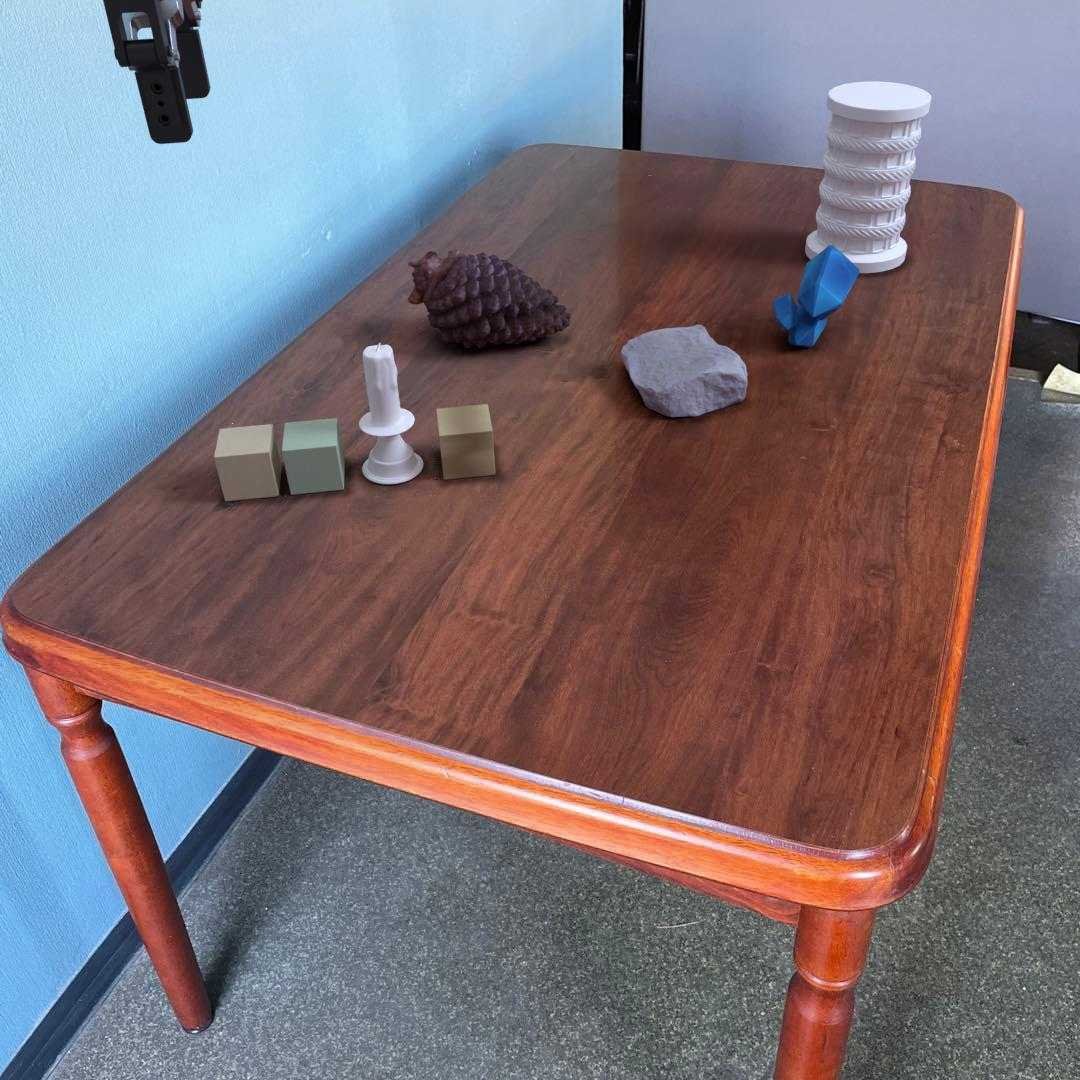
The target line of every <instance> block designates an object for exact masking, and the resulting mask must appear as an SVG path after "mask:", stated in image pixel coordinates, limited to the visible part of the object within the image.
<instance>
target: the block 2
mask: <svg viewBox="0 0 1080 1080" xmlns="http://www.w3.org/2000/svg"><path fill="white" fill-rule="evenodd" d="M283 426H284V427H283V435H282V445H281V455H282V460H283V464H284V465H283V466H284V467H285V468H284V469H285V475H286V478H287V483H288V488H289V492H290V495H291V496H293V495H303V494H312V493H315V494H316V493H324V492H325V493H326V492H335V491H343V490H345V463H346V461H345V455H344V449H343V442H342V438H341V431H340V425H339V419H338V418H337V417H334V418H324V419H312V420H302V421H301V420H300V421H289V422H284V425H283Z"/></svg>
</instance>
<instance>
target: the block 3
mask: <svg viewBox="0 0 1080 1080" xmlns="http://www.w3.org/2000/svg"><path fill="white" fill-rule="evenodd" d="M435 411H436V420H437V421H436V422H437V429H438V430H437V431H438V440H439V449H440V458H441V459H440V460H441V468H442V469H441V470H442V479H443V480H444V481H447V480H456V479H467V478H477V477H486V476H487V477H489V476H496V462H495V461H496V460H495V459H496V458H495V447H494V445H495V444H494V432H493V431H494V430H493V425H492V419H491V413H490V409H489V404H488V403H485V404H484V403H483V404H474V405H473V404H472V405H462V406H461V405H460V406H452V407H441V408H436V409H435Z"/></svg>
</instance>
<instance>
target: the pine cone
mask: <svg viewBox="0 0 1080 1080" xmlns="http://www.w3.org/2000/svg"><path fill="white" fill-rule="evenodd" d="M438 256H439V255H438V253H437V251H433V250H430V251H427V252H426V253H425V254H424V255H423V256H422V257H421V258H420V259H418V260H410V261H408V262H407V266H408V267H412V268H413V271H412V273H411V276H412V278H413V280H412V282H413V283H414V287H413V289H412V291H411V293H410V294H409V296H408V297H407V301H408V303H409V304H411V305H421V304H424V306H425V308H426V311H427V313H428V314H427V319H428V320H429V324H430V326H431V327H432V328H434V329H437V333H438V335H440V336H441V338H442V341H443V342H446V343H453V342H455V343H456V344H463V346H464V348H469V349H470V348H472V347H473V346H476V347H477V348H479V349H481V348H484V347H485V346H486V345H487V344H488V342H489V343H491V344H492V345H494V346H497V345H501V344H506V345H511V344H513V345H519V344H521V343H525V342H535V341H536V340H537V339H543V338H546V337H547V336H553V335H556V334H557V333H559V332H563V331H564V330H566V328H567V327H570V324H571V322H570V321H571V318H572V315H571V313H569V312H567V307H566V305H563V304H558V303H559V298H558V296H557V295H556V294H554V293H553V292H552V290H551V289H550V288H549V289H545V288H543V287H541V285H540V283H539V282H538V281H535V279H534V278H533V277H530V276H528V275H527V274H526V273H525V271H524V270H523V269H521V268H518V267H517V266H515V265H514V264H513V263H511V262H510V261H509V259H502V258H500V257H499V256H498V255H496V254H492V255H488V254H487V253H485V252H480V253H478V254H472V253H468V254H467V255H466V254H464V253H463V252H461V251H460V250H458V249H450V250H449V251H447V257H445V258H441V257H438Z"/></svg>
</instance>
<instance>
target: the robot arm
mask: <svg viewBox="0 0 1080 1080" xmlns="http://www.w3.org/2000/svg"><path fill="white" fill-rule="evenodd" d="M102 3H103V6H104V10H105V14H106V19H107V23H108V27H109V31H110V35H111V39H112V44H113V48H114V49H113V54H114V58H115V60H116V61H117V62H118V66H119V67H120V68H128V71H130V72H134V77H135V80H136V85H137V89H138V93H139V97H140V101H141V105H142V110H143V113H144V118H145V122H146V126H147V130H148V133H149V137H150V139H151V140H152V142H154V143H156V144H158V145H167V144H181V143H188V142H189V141H190V140H191V138H192V136H193V134H194V127H193V121H192V119H191V113H190V109H189V104H188V100H194V99H195V100H196V99H205V98H207V97H208V95H209V94H210V91H211V83H210V78H209V73H208V69H207V64H206V59H205V54H204V49H203V45H202V44H203V43H202V39H201V34H200V29H199V28H200V27H201V21H202V14H201V11H200V9H202V3H203V0H102ZM194 28H195V29H194ZM142 29H151V35H152V38H141V39H139V36H138V33H139V31H140V30H142Z"/></svg>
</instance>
